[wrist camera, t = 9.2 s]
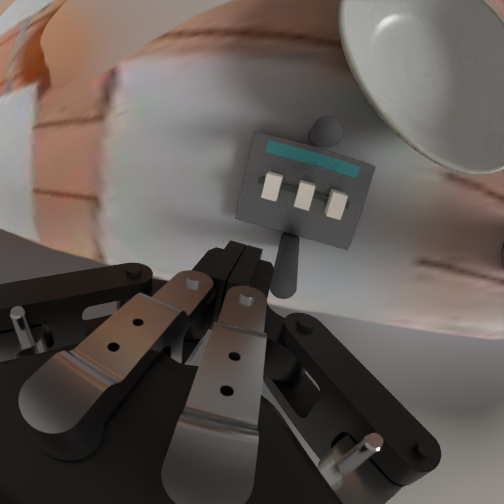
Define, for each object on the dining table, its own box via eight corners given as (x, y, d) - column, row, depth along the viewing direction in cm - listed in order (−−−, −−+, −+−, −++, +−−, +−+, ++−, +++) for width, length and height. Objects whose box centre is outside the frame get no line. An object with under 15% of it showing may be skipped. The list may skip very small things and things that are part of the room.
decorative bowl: (341, 163, 34) (359, 172, 23) (313, -7, 25) (314, -52, 14) (493, 169, 29) (541, 183, 18) (467, 17, 19) (503, -5, 8)
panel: (371, 165, 33) (376, 166, 31) (345, 245, 38) (348, 252, 36) (256, 132, 35) (253, 131, 32) (238, 215, 39) (233, 220, 37)
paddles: (344, 192, 33) (347, 196, 30) (337, 215, 34) (340, 220, 32) (269, 171, 33) (266, 173, 31) (263, 193, 35) (261, 197, 32)
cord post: (301, 233, 39) (299, 279, 26) (296, 249, 40) (291, 301, 27) (283, 228, 39) (273, 272, 26) (279, 245, 40) (266, 294, 27)
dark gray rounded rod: (329, 130, 33) (346, 121, 20) (325, 148, 34) (339, 150, 21) (310, 124, 33) (316, 112, 20) (306, 142, 34) (309, 141, 21)
